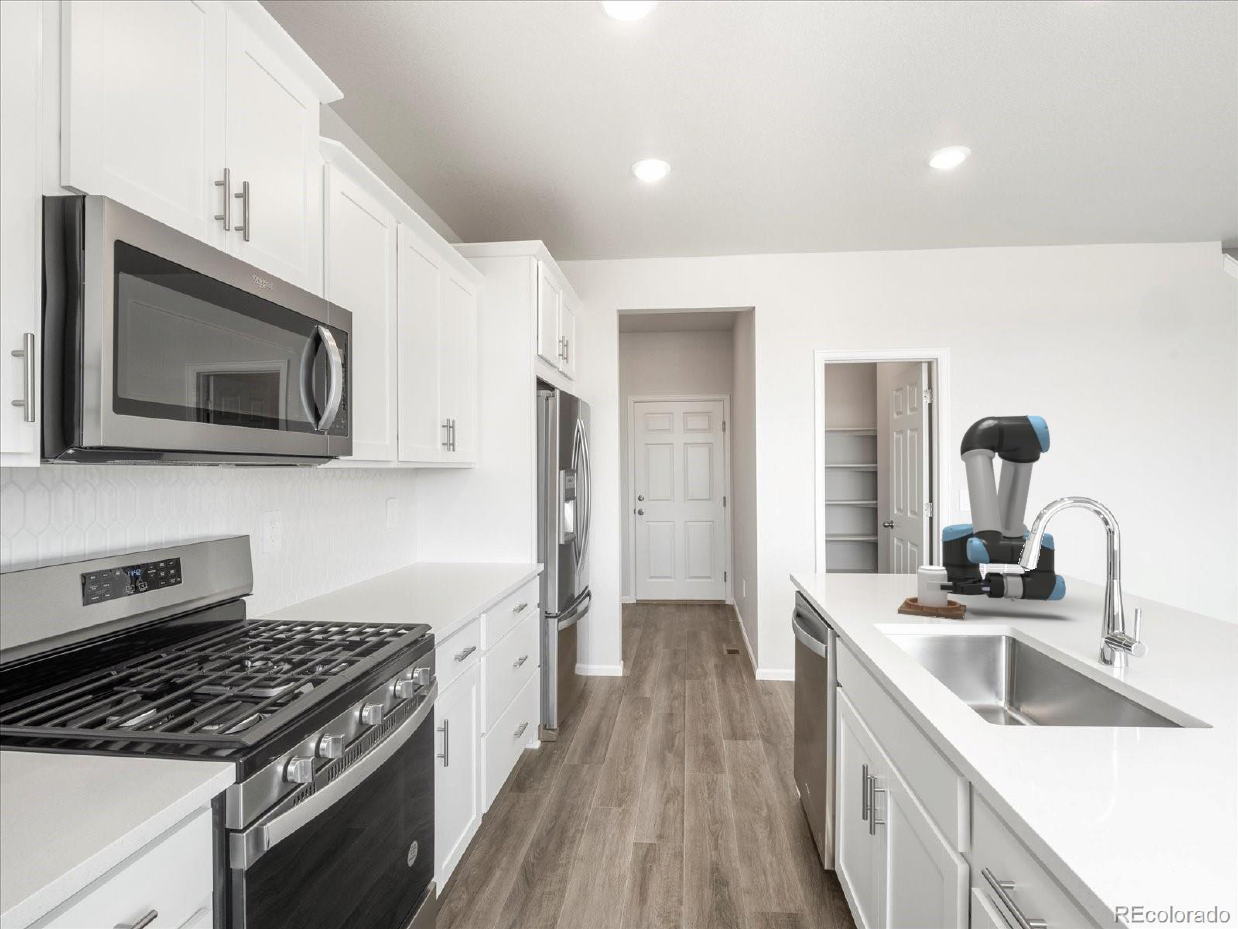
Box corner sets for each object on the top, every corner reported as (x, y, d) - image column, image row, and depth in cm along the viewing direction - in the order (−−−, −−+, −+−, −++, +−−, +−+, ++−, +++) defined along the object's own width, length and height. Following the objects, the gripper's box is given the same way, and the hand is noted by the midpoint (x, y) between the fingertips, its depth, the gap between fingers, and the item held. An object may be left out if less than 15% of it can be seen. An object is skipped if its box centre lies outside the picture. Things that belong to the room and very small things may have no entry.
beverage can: (940, 604, 197) (940, 565, 197) (952, 610, 189) (951, 569, 189) (913, 603, 198) (913, 565, 198) (923, 609, 190) (923, 569, 190)
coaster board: (906, 603, 205) (906, 594, 205) (966, 608, 196) (966, 600, 196) (897, 613, 191) (897, 604, 191) (962, 620, 182) (962, 610, 182)
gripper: (1015, 607, 176) (931, 602, 182) (990, 590, 200) (916, 587, 206) (1015, 579, 176) (931, 576, 182) (990, 566, 200) (916, 563, 206)
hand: (923, 582), depth 194 cm, fingers open, 13 cm apart
